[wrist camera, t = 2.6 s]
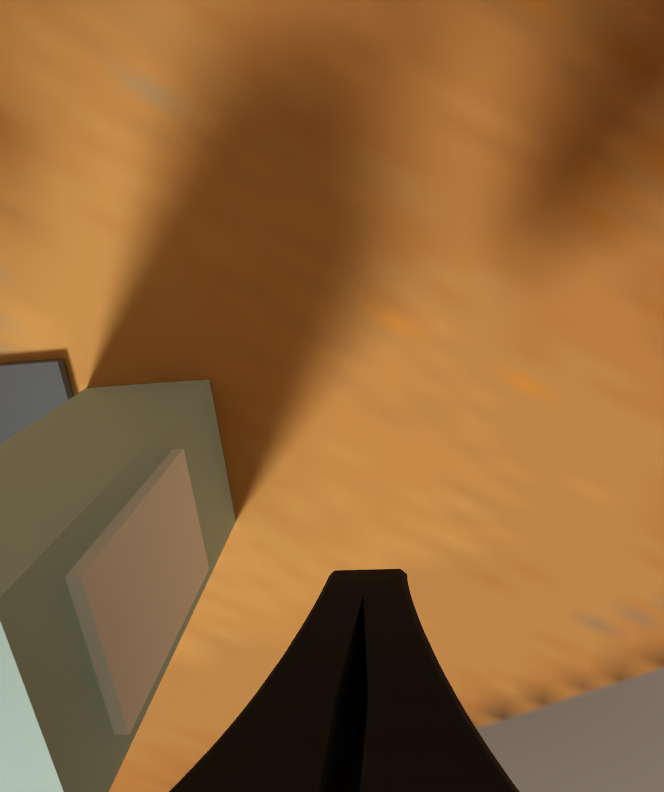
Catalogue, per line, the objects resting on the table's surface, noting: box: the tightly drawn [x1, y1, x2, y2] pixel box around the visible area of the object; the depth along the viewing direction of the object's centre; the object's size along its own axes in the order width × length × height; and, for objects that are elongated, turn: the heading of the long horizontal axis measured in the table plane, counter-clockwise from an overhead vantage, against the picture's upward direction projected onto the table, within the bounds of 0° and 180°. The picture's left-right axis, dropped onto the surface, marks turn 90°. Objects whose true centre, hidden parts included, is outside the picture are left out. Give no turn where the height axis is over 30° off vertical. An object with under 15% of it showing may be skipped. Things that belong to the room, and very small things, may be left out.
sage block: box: [0, 379, 236, 792], centre depth 14 cm, size 4×5×10 cm
